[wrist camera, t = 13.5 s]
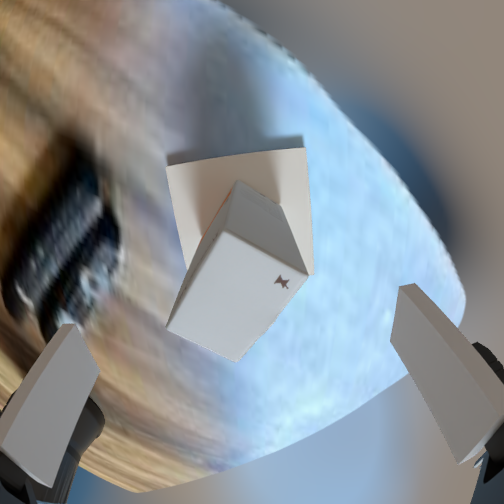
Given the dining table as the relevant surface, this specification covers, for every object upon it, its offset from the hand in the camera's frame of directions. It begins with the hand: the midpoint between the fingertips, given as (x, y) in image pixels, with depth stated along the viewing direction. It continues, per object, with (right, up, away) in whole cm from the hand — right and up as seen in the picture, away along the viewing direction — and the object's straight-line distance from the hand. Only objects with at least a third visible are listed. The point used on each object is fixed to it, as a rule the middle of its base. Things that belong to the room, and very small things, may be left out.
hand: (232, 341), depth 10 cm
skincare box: (0, +6, +13) cm, 14 cm away
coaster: (0, +6, +14) cm, 15 cm away
